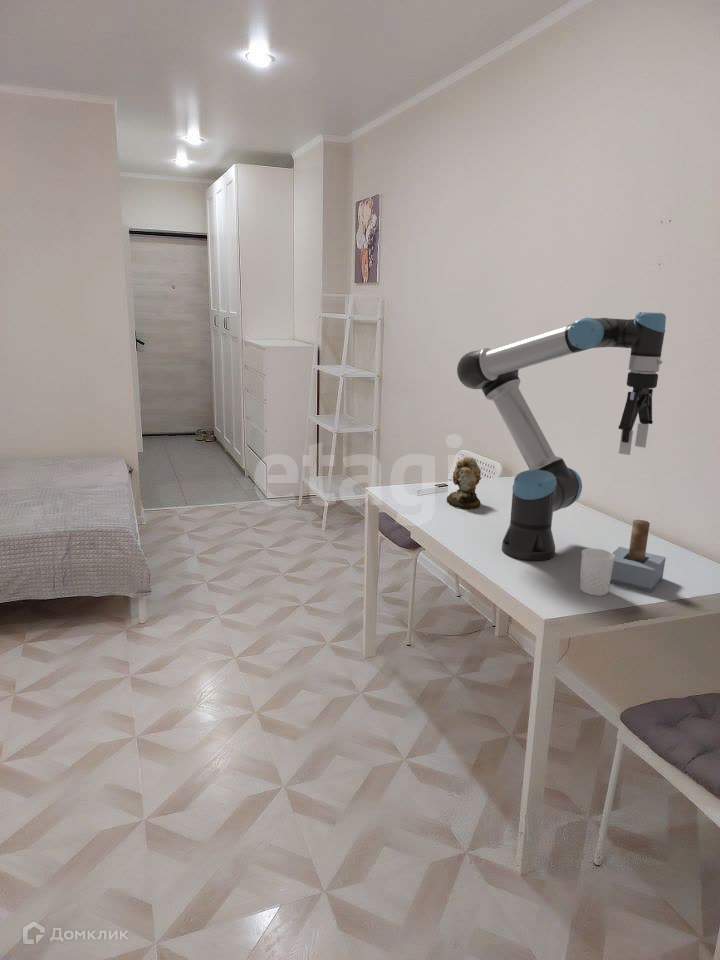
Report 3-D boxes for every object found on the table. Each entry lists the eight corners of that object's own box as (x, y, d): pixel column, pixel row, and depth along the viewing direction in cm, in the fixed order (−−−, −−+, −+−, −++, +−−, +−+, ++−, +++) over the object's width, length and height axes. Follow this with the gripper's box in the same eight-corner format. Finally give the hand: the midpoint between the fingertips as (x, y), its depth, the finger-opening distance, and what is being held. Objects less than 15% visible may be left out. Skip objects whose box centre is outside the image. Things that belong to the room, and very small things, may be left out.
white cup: (609, 599, 166) (614, 561, 163) (576, 593, 168) (580, 556, 166) (610, 587, 173) (615, 551, 170) (578, 582, 175) (582, 546, 173)
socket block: (603, 580, 177) (606, 558, 176) (616, 567, 187) (619, 546, 185) (651, 592, 170) (654, 570, 169) (662, 578, 180) (665, 557, 178)
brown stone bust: (441, 495, 252) (444, 451, 248) (472, 495, 254) (475, 451, 249) (452, 509, 235) (455, 462, 231) (485, 509, 236) (489, 462, 232)
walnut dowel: (624, 576, 178) (631, 522, 174) (628, 571, 181) (635, 518, 177) (639, 580, 175) (647, 525, 172) (643, 575, 179) (651, 521, 175)
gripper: (643, 376, 166) (631, 459, 172) (671, 370, 185) (659, 445, 191) (613, 373, 171) (602, 454, 176) (643, 368, 190) (633, 441, 195)
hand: (632, 450), depth 184 cm, fingers open, 13 cm apart
